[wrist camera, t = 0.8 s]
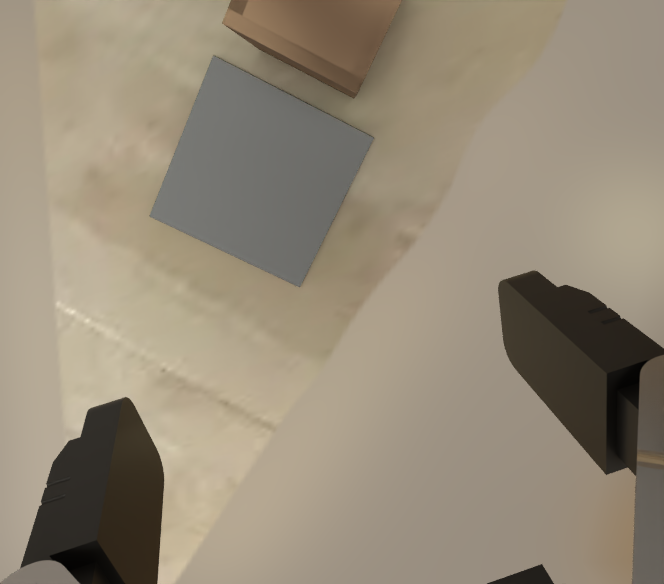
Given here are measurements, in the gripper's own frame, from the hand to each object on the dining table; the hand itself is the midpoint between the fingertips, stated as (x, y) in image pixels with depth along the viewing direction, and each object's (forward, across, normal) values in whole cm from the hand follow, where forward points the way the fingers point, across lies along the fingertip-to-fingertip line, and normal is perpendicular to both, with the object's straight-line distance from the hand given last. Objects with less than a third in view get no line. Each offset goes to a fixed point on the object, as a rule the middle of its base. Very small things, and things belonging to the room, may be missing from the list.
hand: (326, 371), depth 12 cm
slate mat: (+24, 0, +3) cm, 24 cm away
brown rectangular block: (+25, -6, -4) cm, 26 cm away
